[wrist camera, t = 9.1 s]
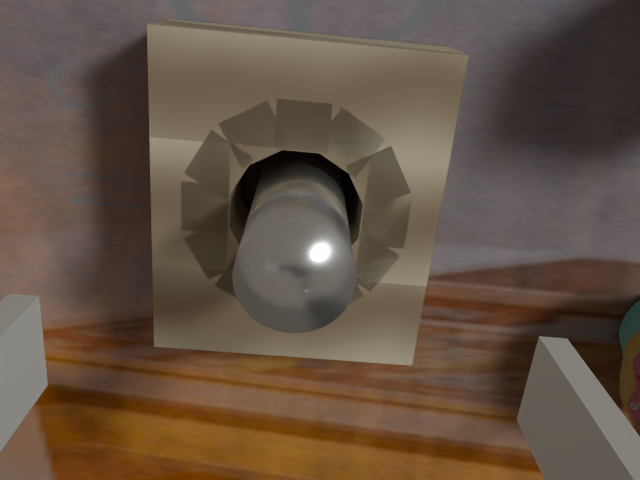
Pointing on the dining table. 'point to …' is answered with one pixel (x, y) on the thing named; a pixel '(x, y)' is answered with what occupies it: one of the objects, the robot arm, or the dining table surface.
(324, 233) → the grey metal rod
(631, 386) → the cupcake
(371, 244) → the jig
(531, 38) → the dining table surface
